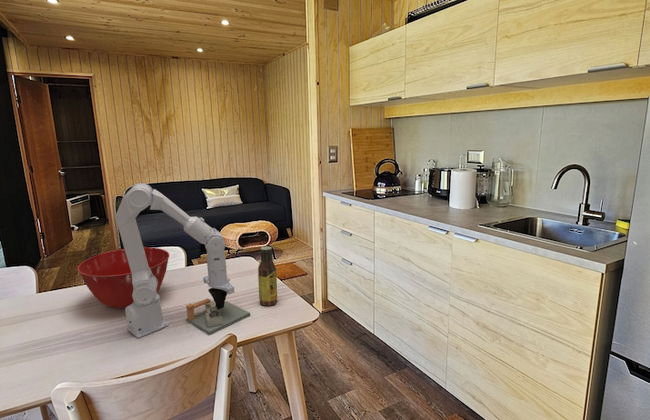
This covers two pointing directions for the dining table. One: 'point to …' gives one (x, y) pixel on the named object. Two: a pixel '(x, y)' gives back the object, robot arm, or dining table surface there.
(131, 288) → the mixing bowl
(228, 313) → the base
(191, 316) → the bracket
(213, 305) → the latch
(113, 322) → the dining table surface
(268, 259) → the sauce bottle
